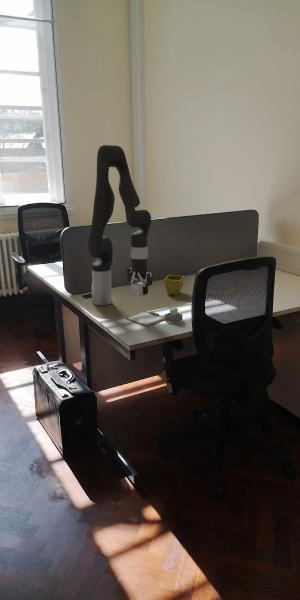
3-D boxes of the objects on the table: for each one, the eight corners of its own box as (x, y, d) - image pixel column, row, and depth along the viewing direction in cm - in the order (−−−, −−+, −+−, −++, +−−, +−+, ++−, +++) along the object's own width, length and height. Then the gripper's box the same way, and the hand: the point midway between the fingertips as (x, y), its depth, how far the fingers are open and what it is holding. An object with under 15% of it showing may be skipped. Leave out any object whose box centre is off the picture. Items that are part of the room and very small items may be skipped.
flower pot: (179, 297, 226) (180, 280, 223) (163, 295, 229) (164, 278, 226) (183, 292, 234) (184, 276, 231) (168, 290, 236) (168, 274, 234)
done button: (168, 317, 194) (168, 309, 192) (173, 315, 196) (173, 307, 195) (174, 319, 191) (174, 311, 190) (179, 317, 194) (179, 309, 193)
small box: (148, 294, 194) (148, 284, 192) (138, 297, 191) (137, 286, 189) (141, 291, 198) (141, 281, 196) (130, 294, 195) (130, 283, 193)
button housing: (164, 320, 194) (164, 314, 193) (172, 317, 198) (172, 311, 197) (174, 323, 191) (174, 317, 190) (182, 320, 194) (182, 314, 193)
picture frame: (124, 318, 196) (124, 316, 195) (144, 311, 205) (144, 309, 205) (147, 327, 187) (147, 324, 187) (166, 318, 196) (166, 316, 196)
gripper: (121, 255, 191) (122, 291, 196) (145, 260, 181) (145, 298, 187) (133, 252, 196) (133, 287, 201) (157, 257, 187) (157, 294, 192)
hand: (139, 292), depth 194 cm, fingers closed on small box, 6 cm apart
